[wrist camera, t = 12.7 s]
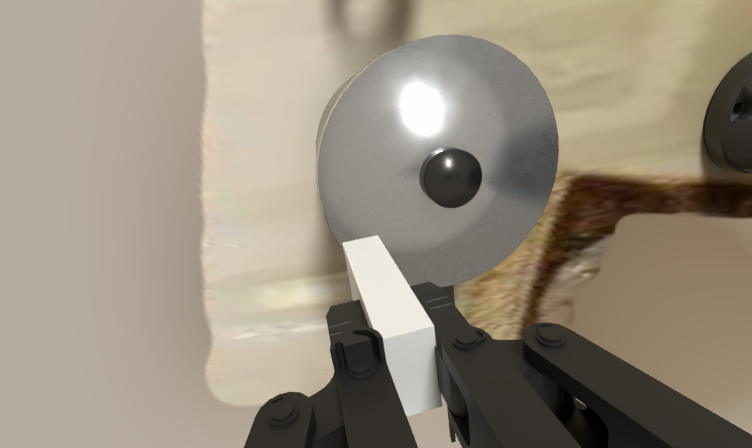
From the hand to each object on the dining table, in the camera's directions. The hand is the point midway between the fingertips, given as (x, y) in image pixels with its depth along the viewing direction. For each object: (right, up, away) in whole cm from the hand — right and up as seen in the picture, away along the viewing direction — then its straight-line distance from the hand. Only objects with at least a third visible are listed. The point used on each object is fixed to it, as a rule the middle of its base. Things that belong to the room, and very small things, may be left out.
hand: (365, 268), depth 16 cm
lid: (+5, +6, +13) cm, 15 cm away
